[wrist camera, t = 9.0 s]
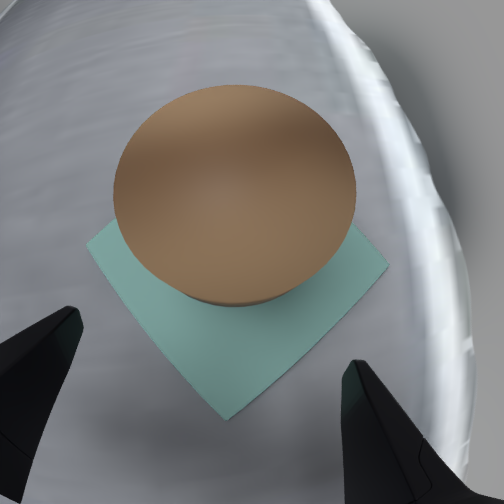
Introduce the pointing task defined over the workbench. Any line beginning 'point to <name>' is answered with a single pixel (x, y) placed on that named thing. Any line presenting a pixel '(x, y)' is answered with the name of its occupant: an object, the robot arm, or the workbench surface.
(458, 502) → the robot arm
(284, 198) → the walnut stool
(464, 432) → the workbench surface
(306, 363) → the workbench surface
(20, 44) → the workbench surface
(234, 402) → the rubber mat
